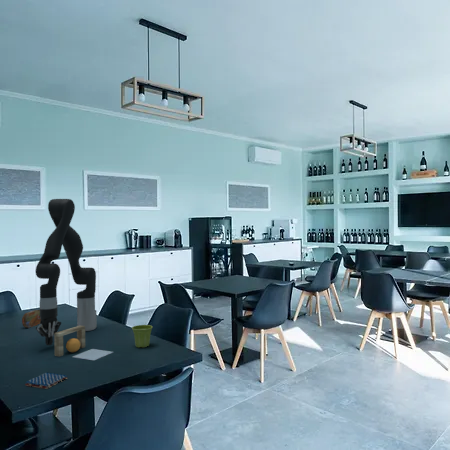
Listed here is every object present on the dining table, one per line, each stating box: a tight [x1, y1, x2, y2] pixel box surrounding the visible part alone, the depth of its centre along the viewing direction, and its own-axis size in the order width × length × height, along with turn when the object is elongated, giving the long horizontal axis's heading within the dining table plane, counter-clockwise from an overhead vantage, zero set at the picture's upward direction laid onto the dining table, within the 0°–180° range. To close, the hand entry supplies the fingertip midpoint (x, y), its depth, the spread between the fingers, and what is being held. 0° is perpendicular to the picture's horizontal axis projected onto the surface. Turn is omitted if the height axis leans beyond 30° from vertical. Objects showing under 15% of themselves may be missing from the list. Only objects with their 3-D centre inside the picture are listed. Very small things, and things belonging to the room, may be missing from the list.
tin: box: [21, 309, 41, 329], centre depth 235 cm, size 15×3×8 cm, turn 168°
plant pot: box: [131, 324, 153, 348], centre depth 192 cm, size 9×9×9 cm
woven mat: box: [24, 372, 68, 390], centre depth 149 cm, size 10×11×2 cm
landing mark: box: [72, 348, 114, 362], centre depth 180 cm, size 12×12×1 cm
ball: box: [65, 337, 81, 353], centre depth 184 cm, size 6×6×6 cm
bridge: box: [53, 325, 86, 357], centre depth 186 cm, size 3×15×10 cm, turn 155°
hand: (49, 344), depth 191 cm, fingers closed
